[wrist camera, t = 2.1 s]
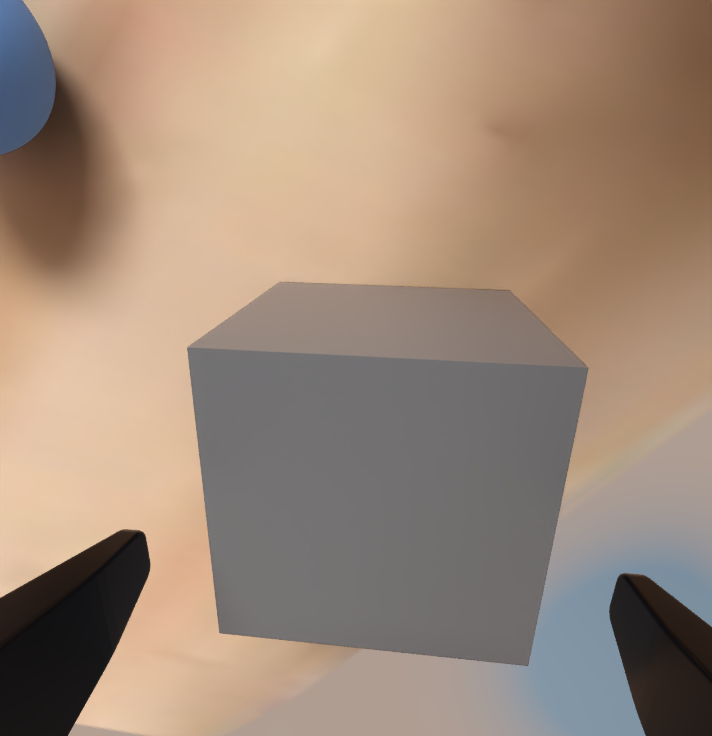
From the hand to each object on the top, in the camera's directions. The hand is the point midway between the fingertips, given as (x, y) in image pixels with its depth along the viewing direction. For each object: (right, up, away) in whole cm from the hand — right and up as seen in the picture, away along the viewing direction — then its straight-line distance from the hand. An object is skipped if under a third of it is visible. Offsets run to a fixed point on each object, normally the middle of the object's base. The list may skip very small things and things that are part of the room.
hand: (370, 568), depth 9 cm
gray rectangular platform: (+1, +3, +8) cm, 9 cm away
